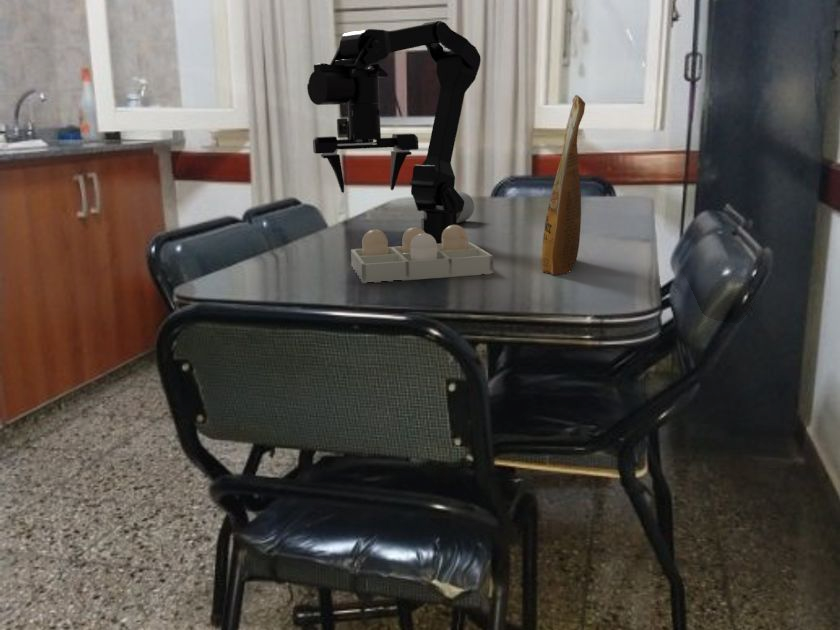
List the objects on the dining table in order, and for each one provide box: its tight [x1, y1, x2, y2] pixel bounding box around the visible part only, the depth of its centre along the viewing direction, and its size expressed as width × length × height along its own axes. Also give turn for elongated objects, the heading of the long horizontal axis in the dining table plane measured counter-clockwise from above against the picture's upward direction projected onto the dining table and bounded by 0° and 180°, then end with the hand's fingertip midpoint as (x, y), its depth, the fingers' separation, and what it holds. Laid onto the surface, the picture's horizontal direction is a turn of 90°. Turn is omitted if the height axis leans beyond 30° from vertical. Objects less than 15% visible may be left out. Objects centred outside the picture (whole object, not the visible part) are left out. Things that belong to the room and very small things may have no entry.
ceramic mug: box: [436, 191, 475, 224], centre depth 186 cm, size 11×8×8 cm
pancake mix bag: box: [541, 94, 586, 276], centre depth 129 cm, size 7×19×28 cm, turn 164°
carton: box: [350, 224, 494, 284], centre depth 132 cm, size 22×15×7 cm
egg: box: [410, 233, 437, 261], centre depth 129 cm, size 4×4×6 cm
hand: (367, 191), depth 145 cm, fingers open, 9 cm apart
